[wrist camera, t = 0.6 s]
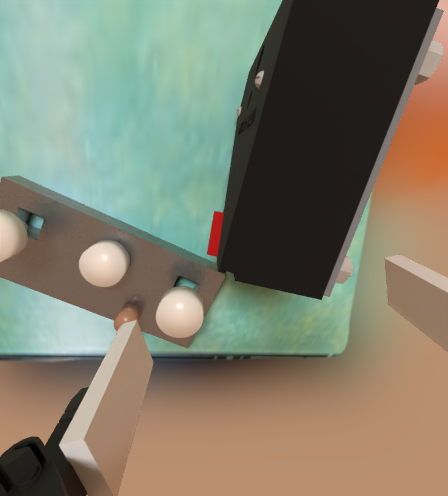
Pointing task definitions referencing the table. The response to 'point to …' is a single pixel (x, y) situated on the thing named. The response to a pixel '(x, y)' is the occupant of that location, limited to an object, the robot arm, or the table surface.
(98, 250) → the knob mid
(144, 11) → the table surface
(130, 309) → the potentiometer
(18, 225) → the knob
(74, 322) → the table surface
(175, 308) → the knob outer
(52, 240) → the plate
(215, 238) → the electrical component
